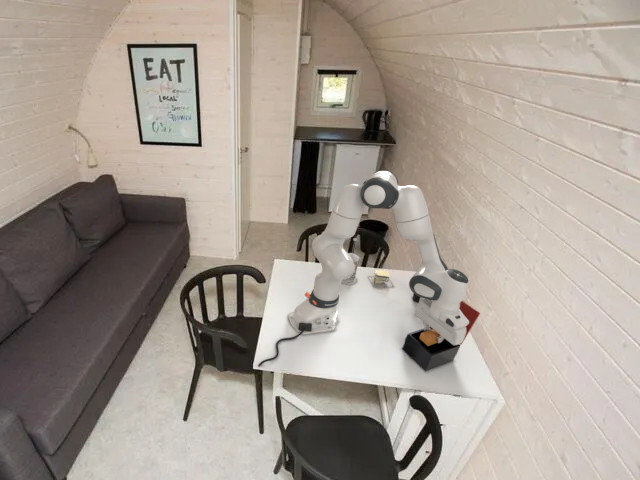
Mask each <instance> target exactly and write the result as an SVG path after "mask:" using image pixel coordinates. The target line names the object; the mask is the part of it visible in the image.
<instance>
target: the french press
mask: <svg viewBox="0 0 640 480" xmlns="http://www.w3.org/2000/svg"><path fill="white" fill-rule="evenodd" d="M352 240H353V241H354V242H353V244H355V242H357V241H358V239H357V238H356V237H354V238H353V239H352ZM354 247H355V245H353V247H352V249H354ZM353 251H354V250H352V252H347V253H348V254H349V255H350V256H351V258H352V260H353V262H354V264H355V271H354V273H353V274H352V275H351V276H350V277H349V278H347V279H345V280H343V281H342V283H341V284H343V285H344V284H345V285H354V284H355V283H356V282H357V279H356V274H357V270H358V264H357V262H359V261H360V256H359V255H358V254H356V253H353Z"/></svg>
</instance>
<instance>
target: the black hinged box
mask: <svg viewBox="0 0 640 480" xmlns="http://www.w3.org/2000/svg"><path fill="white" fill-rule="evenodd" d="M429 328H430V329H431V330H432V329H433V328H431V327H430V326H429ZM424 329H425V328H421V329H418V330H415V331H412V332H409V333H407V334H406V337H405V339H404V343H403V345H402V348H401V350H402V351H403V352H404V353H406V355H407V356H408V357H410V358H411V359H412V360H413V361H414V362H415V363H416V364H417V365H418V366H419V367H420V368H421V369H422V370H423V371H425V372H427V371H430V370H433V369H435V368H438V367H441V366H444V365H446V364H449V363H451V362H453V361H454V360H455V358H456V357H457V354H458V352H459V350H460V348H461V346H462V344H461V345H460V344H458V345H452V344H451V343H450V342H448V341H447V340H446V339H444V340H443V341H442V342H441V343H435V344H433V345H430V346H427V345H426V344H425V343H424V342H423V341H421V340H420V339H419V337H420V335H421V333H423V332H425V331H424Z"/></svg>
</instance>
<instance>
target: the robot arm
mask: <svg viewBox="0 0 640 480" xmlns="http://www.w3.org/2000/svg"><path fill="white" fill-rule="evenodd" d="M366 207H367V208H371V209H382V210H390V209H391V210H392V214H393V218H394V222H395V223H394V224H395V227H396V230H397V232H398V235H399V237H401V238H402V239H404V240H406V241H409V242H415V243H416V245H417V247H418V251H419V255H420V258H421V264H420V267H419V268H418V270H416V272H415V273H414V274H413V275H412V277H410V279H409V282H408V287H409V289H410V291H411V292H412V293H413V294H415V295H417V296H419V297H420V300H419V303H418V302H417V304H416V306H415V308H414V309H413V310H414V311H413V312H414V315H415V316H417V317H418V318H419V319H420V320H421V321H423V326H424V328H425V329H424V328H423V329H424V331H425V332H426V331H429V330H431V329H430V328H429V327H431V328H433V329H434V330H435V331H436V332H437V333H439V334H440V337H437V338H436V341H437V342H438V343H441V342H442V340H443V339H446V340H447V341H448V342H450V343H451V344H452V345H458V344H459V345H460V344H461V343H462V342H463V343H464V341H465V340H464V338H465V335H466V331H467V329H466V327H465V326H467V325H468V324H469V320H468V319H467V318H466V317H465V316H464V314H463V313H462V312H461V310H460V309H459V308H460V303H461V301H463V300H464V299H465V297H466V295H467V291H468V289H469V278H468V276H467V275H466V274H465V273H464V272H463V271H461V270H458V269H455V268H449V267H448V266H447V264H446V263H445V262H444V260H443V259H442V257H441V255H440V251H439V247H438V244H437V240H436V237H435V234H434V231H433V228H432V222H431V217H430V211H429V207H428V203H427V201H426V198H425V196H424V193H423V191H422V189H421V188H420V187H418V186H417V185H411V184H410V185H409V184H408V185H404V186H403V185H402V186H401V185H399V180H398V177H397V175H396V174H395V173H394V172H393V171H390V170H388V169H382V170H377V171H375V172H374V173H372V174H371V175H370V176H369V177H368V178H367V179H365V180H364V182H362V184H361V185H360V184H355V183H349V184H346V185H344V186H343V187H342V188H341V190H340V191H339V193H338V195H337V197H336V199H335V202H334V204H333V206H332V210H331V213H330V216H329V220H328V221H327V225H326V227H325V229H324V230H323V232H322V233H321V234H319V235H317V236H316V237H314V239H313V240H312V241H311V249H312V252H313V255H314V256H315V258H316V259H317V261H318V262H319V263H320V265H321V268H322V269H321V271H320V272H319V273H317V274H316V276H315V278H314V284H313V289H312V290H311V292H309V291H305V293H304V296H305V297H306V299H305V300H304V301H302V302H301V303H300V304H298V305H296V307H295V309H294V311H293V312H290V313H289V314H288V321H289V323H290V325H291V326H292V327H293V329H294V330H295V331H297V333H298V334H296V335H295V336H292V337H283V338H280V339H279V340H277V341H276V343H275V349H276V350H275V351H276V354H275V356H273V357H270V358H266V359H264V360H262V361H260V362H259V364H257V367H258V368H260V367H261V366H262V365H263V364H265V363H266V362H270V361H271V362H272V361H274V360H276V359H277V358H278V357H279V353H280V350H279V344H280V343H281V342H283V341H291V340H295V339H297V338H299V337H300V336H301V335H310V334H319V333H326V332H333V331H335V329H336V325H337V323H338V311H337V309H338V304H339V300H340V290H341V286H342V284H343V283H342V281H343V280H345V279H347V278H349V277H350V276H351V275H352V274H353V273H354V271H355V264H354V262H353V260H352V258H351V256H350V255H349V254H348V253H349V252H347V250H346V249H345V248H344V244H345V241H346V240H347V239H350V238H352V237H354V236H355V234H356V232H357V230H358V227H359V225H360V221H361V218H362V216H363V213H364V210H365V208H366ZM465 339H466V338H465ZM463 340H464V341H463ZM463 343H462V344H463ZM462 344H461V345H462Z"/></svg>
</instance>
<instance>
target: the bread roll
mask: <svg viewBox="0 0 640 480" xmlns="http://www.w3.org/2000/svg"><path fill="white" fill-rule="evenodd" d="M437 337H440V334H439V333H437V332H436V331H435V330H434V329H432V330H429V331H426V332H423V333H421V335H420V337H419V339H420V340H421V341H423V342H424V343H425V344H426V345H427V346H430V345H433V344H435V343H438V342H437V341H436V338H437ZM443 340H444V339H443ZM443 340H442V341H443Z"/></svg>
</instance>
